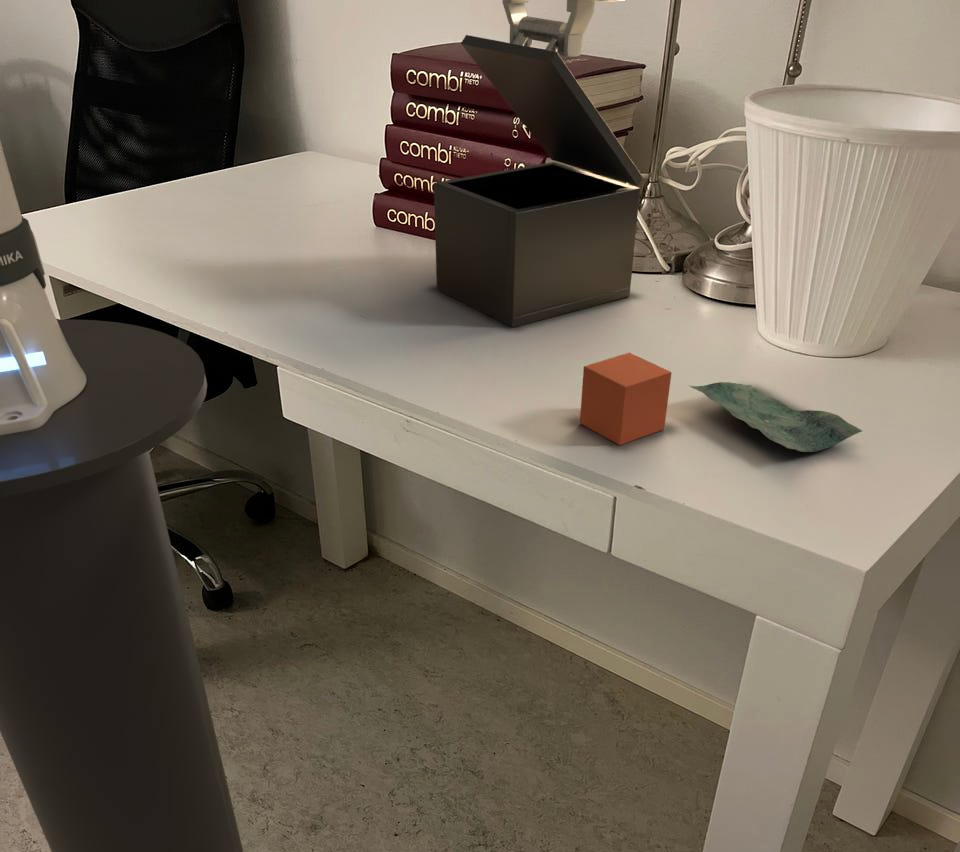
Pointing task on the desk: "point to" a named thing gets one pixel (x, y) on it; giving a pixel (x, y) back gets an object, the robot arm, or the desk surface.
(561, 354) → the desk surface
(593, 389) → the terracotta orange cube
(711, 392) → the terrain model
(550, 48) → the box lid
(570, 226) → the black box
